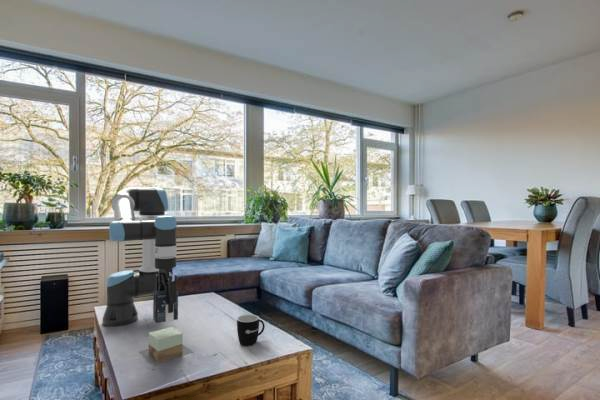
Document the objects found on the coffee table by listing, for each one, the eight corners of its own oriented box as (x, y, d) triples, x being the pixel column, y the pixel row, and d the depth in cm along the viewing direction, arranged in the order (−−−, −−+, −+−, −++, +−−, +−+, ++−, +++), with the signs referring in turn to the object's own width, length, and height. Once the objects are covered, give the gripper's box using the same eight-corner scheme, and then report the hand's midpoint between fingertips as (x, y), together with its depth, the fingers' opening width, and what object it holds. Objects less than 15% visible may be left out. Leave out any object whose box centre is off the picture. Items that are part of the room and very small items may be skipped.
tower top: (148, 343, 125) (148, 333, 125) (172, 336, 132) (172, 326, 132) (158, 351, 119) (158, 340, 119) (182, 343, 125) (182, 333, 125)
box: (155, 323, 121) (155, 294, 121) (152, 319, 125) (152, 291, 126) (178, 319, 125) (178, 291, 125) (174, 315, 130) (174, 288, 130)
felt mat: (138, 352, 127) (138, 351, 127) (176, 341, 138) (176, 340, 138) (153, 366, 117) (153, 365, 117) (193, 352, 127) (193, 351, 127)
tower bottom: (148, 354, 125) (148, 343, 125) (172, 347, 132) (172, 336, 132) (158, 362, 119) (158, 351, 119) (182, 354, 125) (182, 343, 125)
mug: (242, 349, 130) (242, 323, 130) (233, 341, 137) (233, 317, 138) (269, 342, 137) (269, 317, 137) (259, 335, 144) (259, 311, 144)
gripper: (145, 255, 130) (145, 315, 129) (166, 261, 116) (166, 328, 116) (164, 253, 135) (164, 310, 135) (187, 258, 121) (187, 322, 121)
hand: (165, 318), depth 125 cm, fingers closed on box, 6 cm apart
